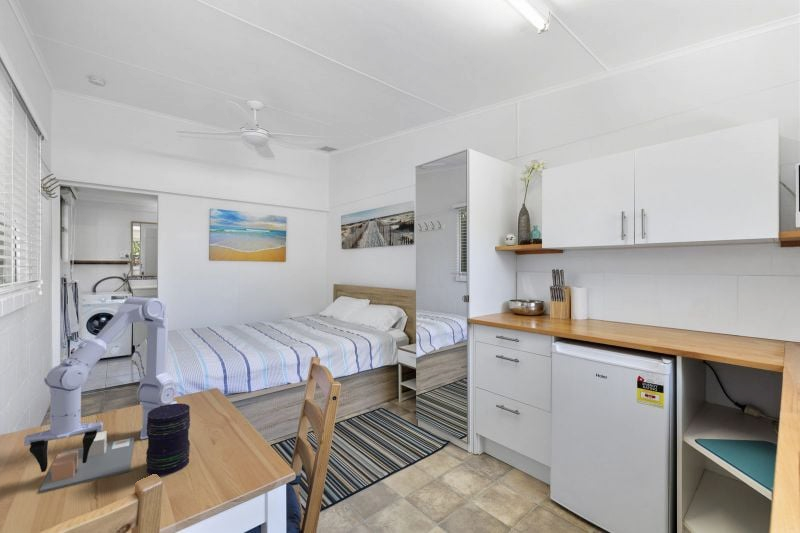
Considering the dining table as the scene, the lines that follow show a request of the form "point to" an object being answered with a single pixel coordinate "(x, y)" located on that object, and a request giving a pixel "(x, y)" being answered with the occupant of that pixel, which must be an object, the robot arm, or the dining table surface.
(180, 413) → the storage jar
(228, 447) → the dining table surface
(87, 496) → the dining table surface
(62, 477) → the terracotta brick
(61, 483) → the baseplate
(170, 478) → the dining table surface
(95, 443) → the off-white brick
